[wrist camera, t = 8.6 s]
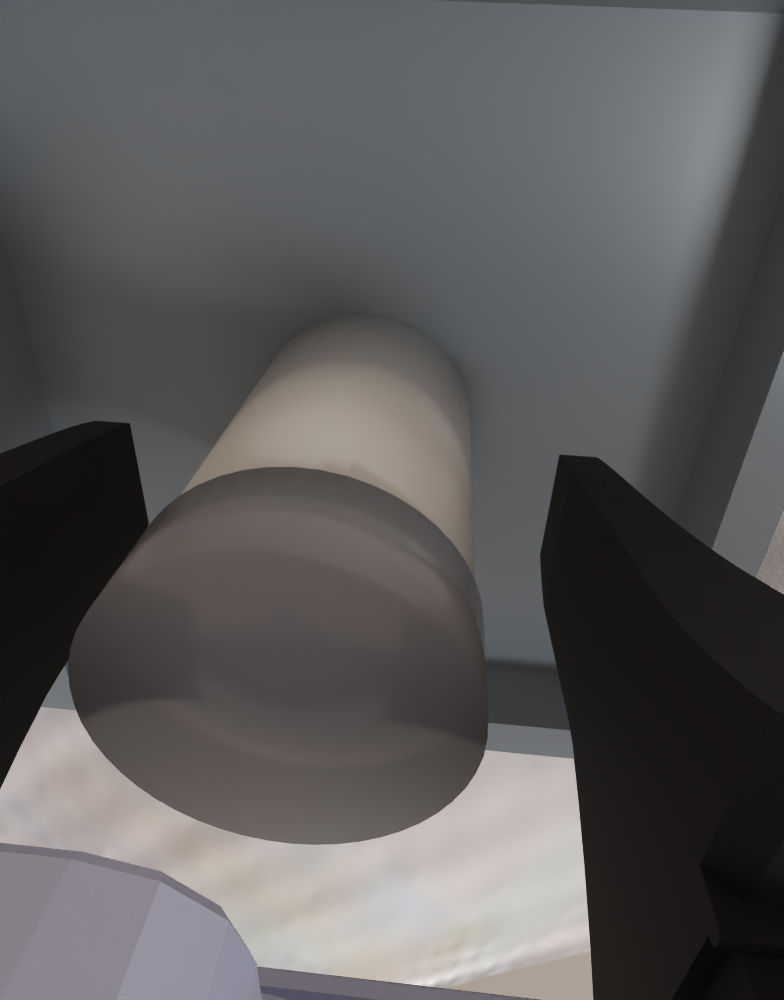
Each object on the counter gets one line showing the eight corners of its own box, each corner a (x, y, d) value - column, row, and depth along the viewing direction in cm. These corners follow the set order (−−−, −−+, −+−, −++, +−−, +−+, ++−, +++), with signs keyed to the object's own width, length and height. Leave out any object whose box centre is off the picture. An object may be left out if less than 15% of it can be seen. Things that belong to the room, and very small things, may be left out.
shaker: (483, 312, 13) (510, 567, 6) (465, 514, 15) (470, 859, 8) (246, 303, 13) (16, 535, 6) (266, 503, 15) (115, 826, 9)
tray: (913, -63, 10) (1037, -102, 8) (650, 689, 18) (675, 768, 16) (-118, -93, 11) (-259, -138, 9) (87, 638, 19) (41, 706, 17)
